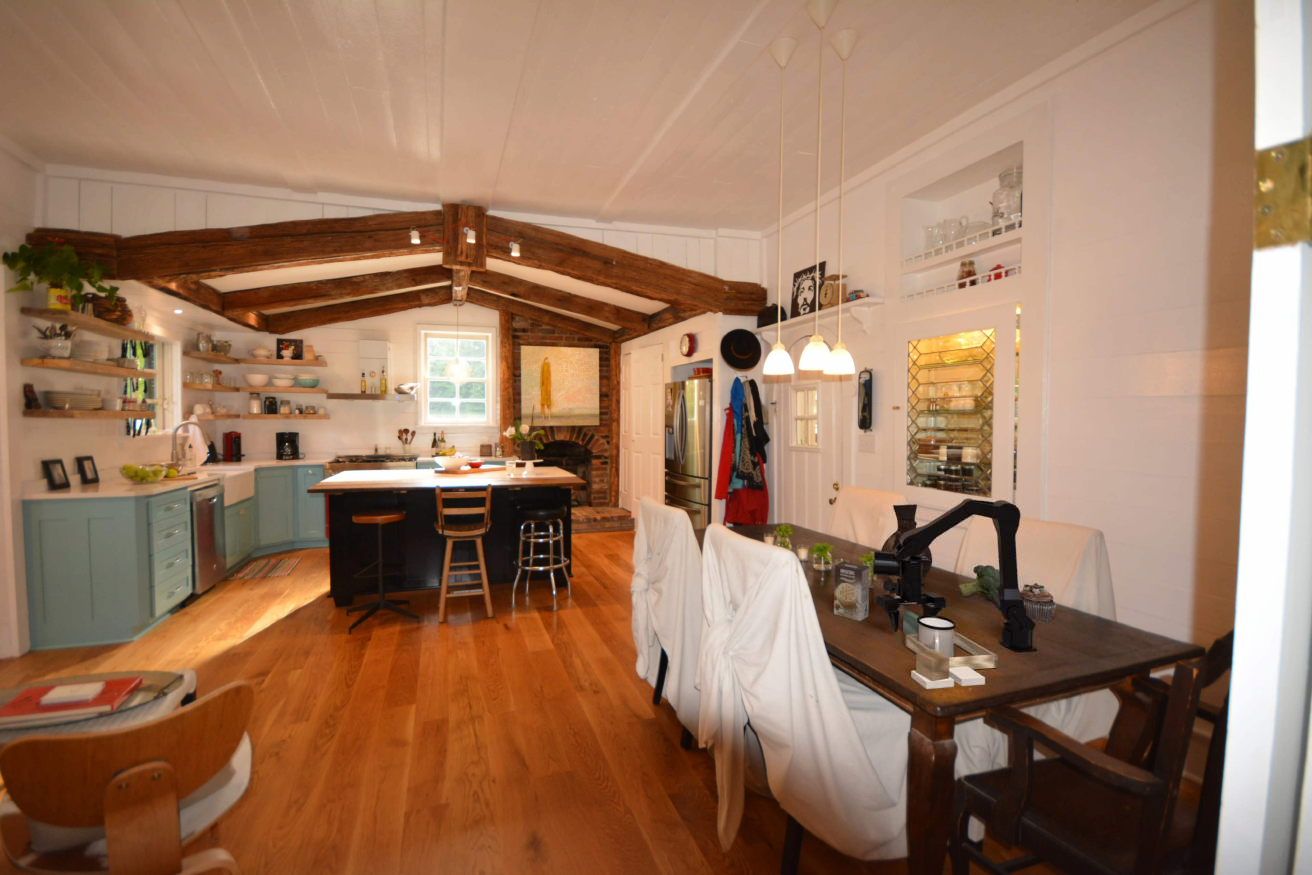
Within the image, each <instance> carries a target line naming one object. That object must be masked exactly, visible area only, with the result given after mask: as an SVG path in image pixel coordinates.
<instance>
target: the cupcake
mask: <svg viewBox="0 0 1312 875" xmlns="http://www.w3.org/2000/svg"><path fill="white" fill-rule="evenodd" d="M1020 593H1021V596H1022V598H1023V601H1024V605H1025V609H1026V614H1027V615H1028V616H1029V617H1030V618H1031V619H1032V620H1033V619H1036V620H1035V621H1038V620H1045V621H1044V622H1049V621H1048V620H1051V621H1053V620H1054V616H1055V611H1056V607H1057V603H1056V602H1055V601H1054V600H1053V599H1054V596H1053V595H1052V594H1051V593H1050V591H1049V590H1048V589H1046V588H1045V586H1044V585H1041V584H1040V585H1039V584H1038V583H1034V584H1028V583H1027V584H1024V585H1023V586H1022V590H1021V591H1020ZM1052 619H1053V620H1052Z"/></svg>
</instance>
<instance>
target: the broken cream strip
mask: <svg viewBox="0 0 1312 875" xmlns="http://www.w3.org/2000/svg"><path fill="white" fill-rule="evenodd" d="M910 673H911V674H910V676H911V678H912V679H913V680H914V681H915V682H917V683H918V684H919V685H920V686H922V687H923V688H924V689H926V690H930V689H942V688H953V687H955V683H957V684H958V685H959V686H961V687H967V686H982V685H986V677H985V676H983V675H981V673H978V671H975V669H971V668H969V667H954V668H949V678H948V679H943V680H938V681H930V680H929V679H927V678H925V677H923V676H922V675H920V674H918V673H916V669H915V670H911V672H910Z"/></svg>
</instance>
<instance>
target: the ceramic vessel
mask: <svg viewBox="0 0 1312 875" xmlns="http://www.w3.org/2000/svg"><path fill="white" fill-rule="evenodd" d="M892 507H893V510H894V514H895V517H896V520H897V521H896V522H897V529H896V531H895V532H893V533H892V534H891V535H890V536H888V538H887V539H886V540H885V541H884V543H883V545H882V547H881V550H880V551H882V552H893V550H894V548H895V547H896V546H897V545H898V544H899V543H900V538H901V536H902V534H904V533H905V532H907V531H910V530H912V529H915V528H917V525H918V523H917V522H916V514H917V509H918V504H916V503H913V504H898V505H897V504H893V505H892ZM922 553H924V555H925V556H926V557H927V558H928V559H929V560H930V563H929V564H928V563H922V581H923V580H925V579H926V577H927V576H928V574H929V573H930V571H931V569H932V566H933V554H932V551H931V549H930V545H929V546H928V547H927V548H926V549H925V550H924V551H923V552H922ZM922 553H921V554H922ZM921 554H919V555H921ZM919 555H917V556H919ZM900 566H901V562H900V561H899V570H898V573H896V574H894V576H889V575H887V576H888V577H889V578H890V580H892V582H893V583H897V579H898V578H900Z"/></svg>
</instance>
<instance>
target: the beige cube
mask: <svg viewBox="0 0 1312 875" xmlns="http://www.w3.org/2000/svg"><path fill="white" fill-rule="evenodd" d="M915 654H916V656H915V657H916V658H915V659H916V661H915V664H916V665H915V670H916V673H918V674H920V675H922V676H923V677H925V678H927V679H929V680H930V681H938V680H943V679H948V678H949V657H948V656H946V655H944V654H942V653H940V652H938V651H936V650H934V649H931V650H925V651H919V652H916V653H915Z"/></svg>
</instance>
